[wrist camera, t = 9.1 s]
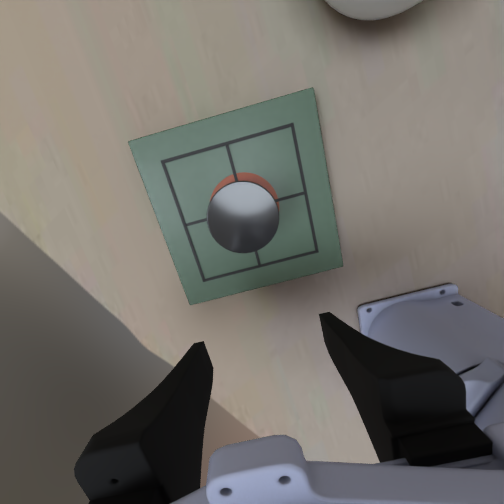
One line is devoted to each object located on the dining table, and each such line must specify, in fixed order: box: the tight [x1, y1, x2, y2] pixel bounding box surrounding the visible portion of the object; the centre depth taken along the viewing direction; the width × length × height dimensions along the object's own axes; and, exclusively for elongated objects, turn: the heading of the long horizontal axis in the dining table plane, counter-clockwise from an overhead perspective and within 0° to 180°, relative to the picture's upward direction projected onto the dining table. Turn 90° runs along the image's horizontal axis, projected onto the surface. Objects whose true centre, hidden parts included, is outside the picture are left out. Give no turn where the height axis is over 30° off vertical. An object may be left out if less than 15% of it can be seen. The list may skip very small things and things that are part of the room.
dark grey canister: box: [207, 180, 279, 254], centre depth 17 cm, size 4×4×5 cm
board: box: [128, 87, 343, 305], centre depth 20 cm, size 14×14×2 cm
